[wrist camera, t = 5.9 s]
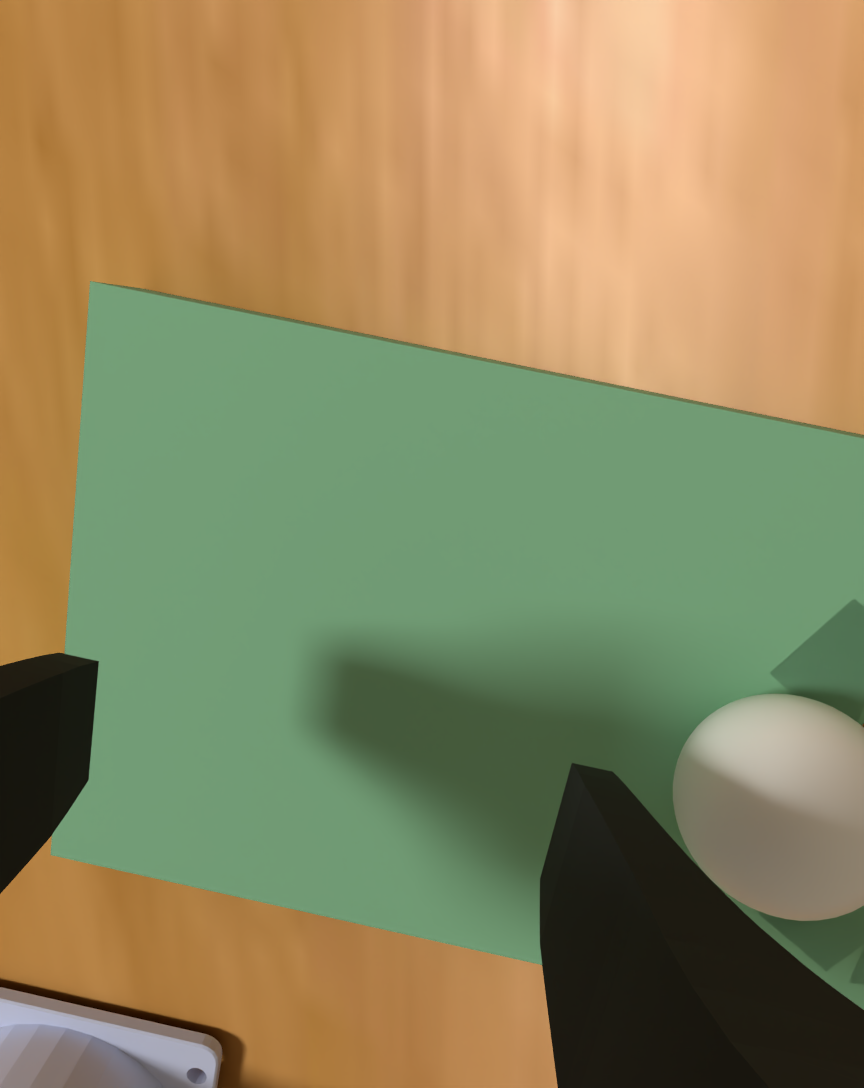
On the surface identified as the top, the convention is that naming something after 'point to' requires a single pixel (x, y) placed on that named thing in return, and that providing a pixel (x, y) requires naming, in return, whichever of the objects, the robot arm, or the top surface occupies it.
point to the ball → (776, 805)
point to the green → (425, 612)
